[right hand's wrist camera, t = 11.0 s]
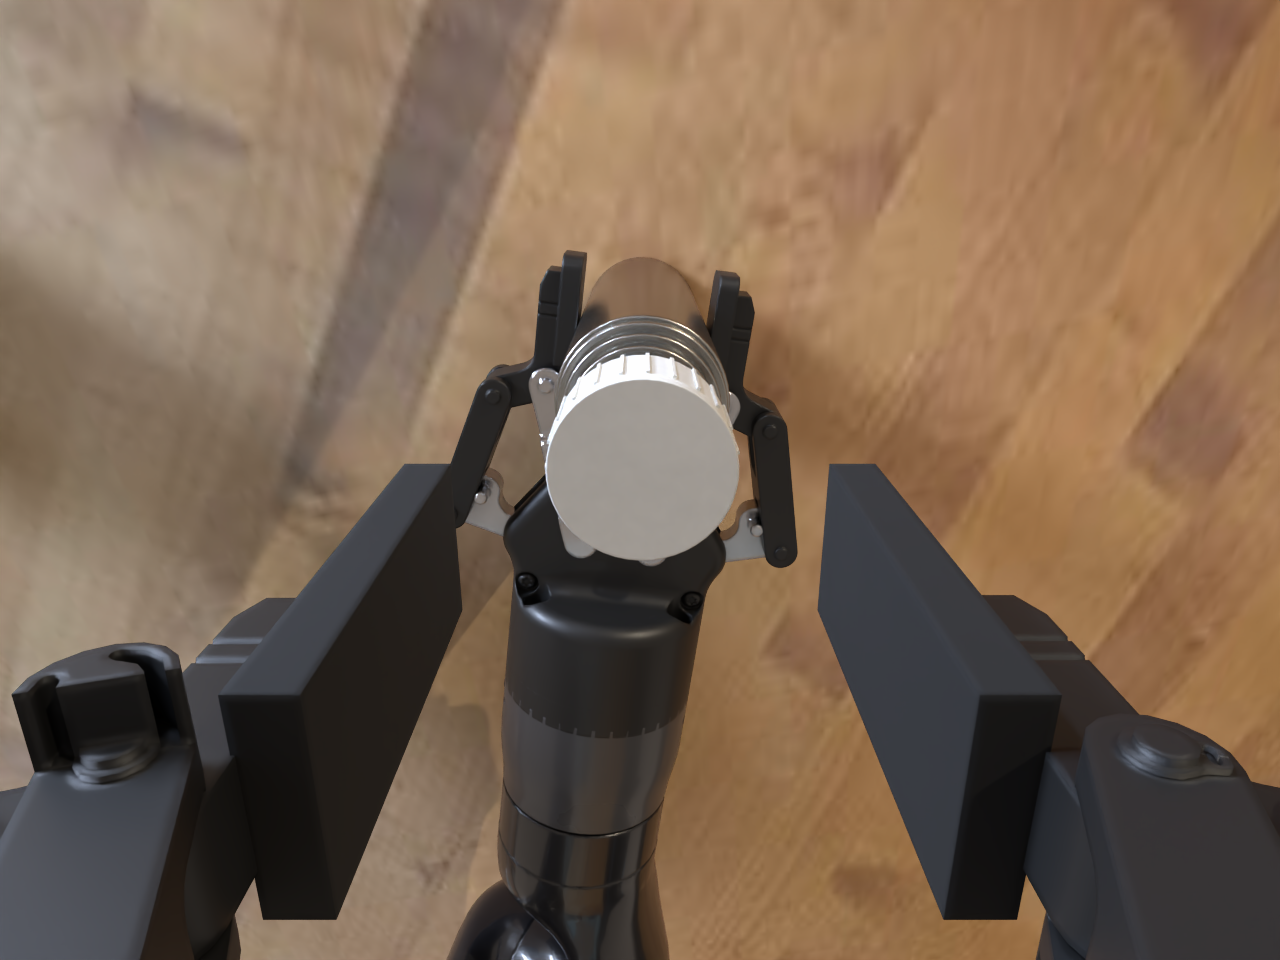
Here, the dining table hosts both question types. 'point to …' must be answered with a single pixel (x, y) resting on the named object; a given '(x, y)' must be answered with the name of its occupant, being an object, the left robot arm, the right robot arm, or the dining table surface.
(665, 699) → the left robot arm
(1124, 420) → the dining table surface
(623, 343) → the bottle
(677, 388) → the cap
